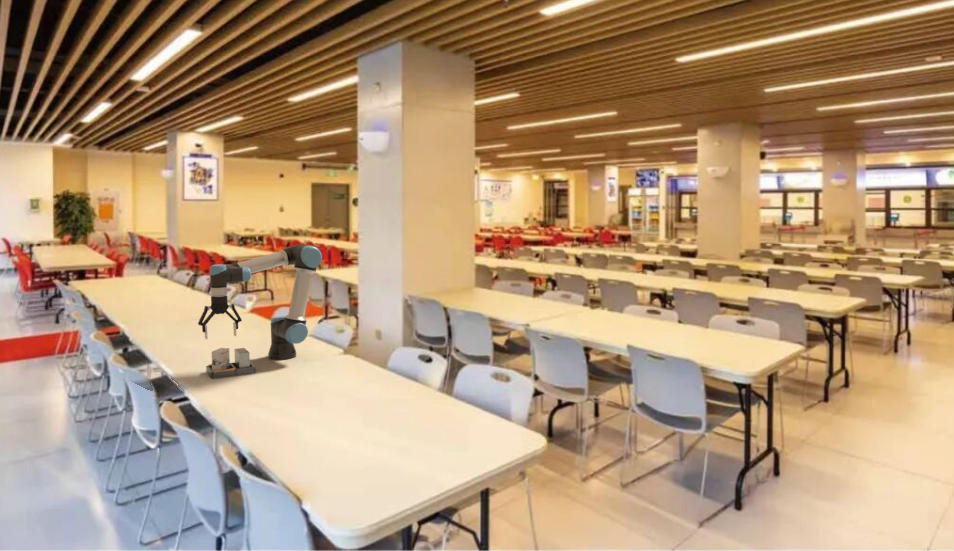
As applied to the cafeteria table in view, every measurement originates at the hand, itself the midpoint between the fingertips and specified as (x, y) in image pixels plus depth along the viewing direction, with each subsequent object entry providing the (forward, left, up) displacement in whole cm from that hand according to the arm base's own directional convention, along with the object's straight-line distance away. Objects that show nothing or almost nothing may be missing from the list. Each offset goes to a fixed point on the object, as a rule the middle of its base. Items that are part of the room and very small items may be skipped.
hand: (220, 337), depth 303 cm
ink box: (0, 0, -18) cm, 18 cm away
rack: (-4, 0, -19) cm, 19 cm away
